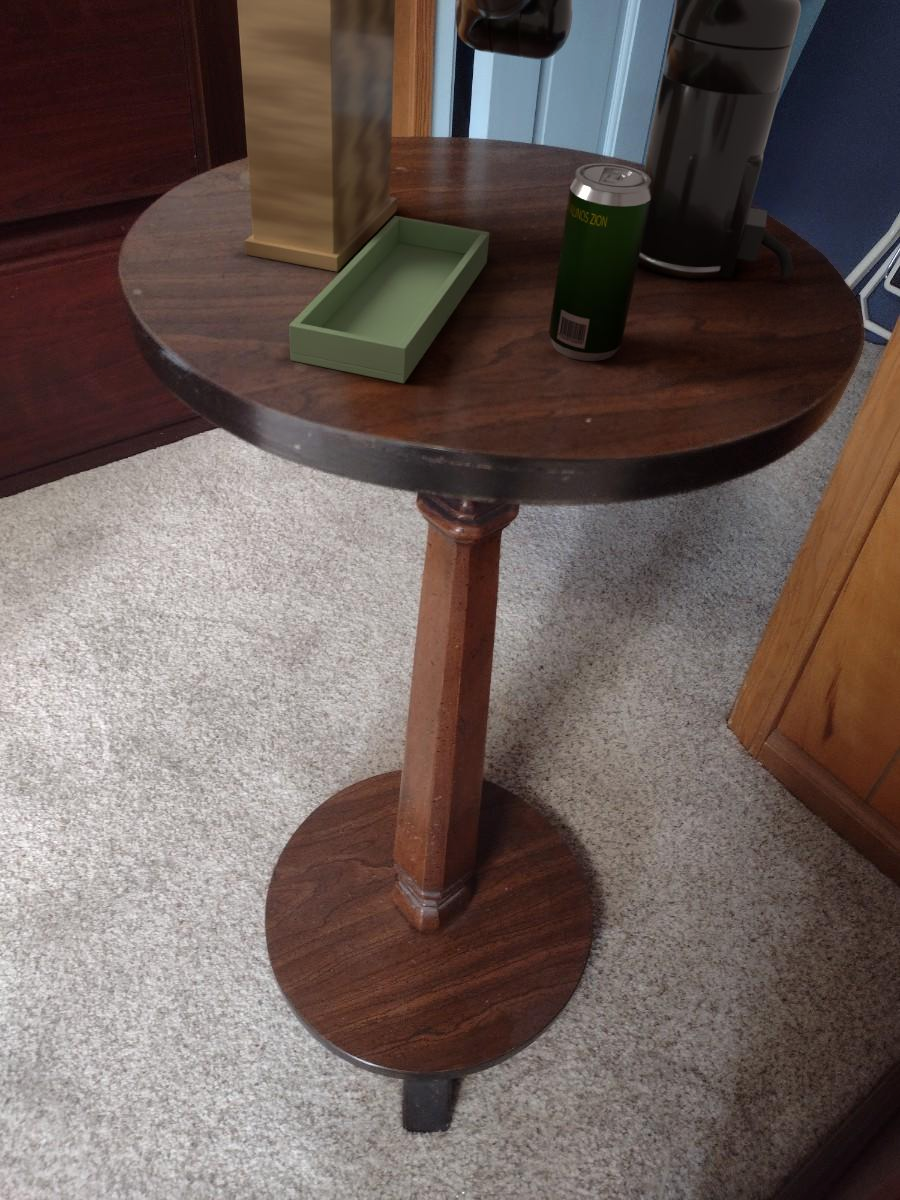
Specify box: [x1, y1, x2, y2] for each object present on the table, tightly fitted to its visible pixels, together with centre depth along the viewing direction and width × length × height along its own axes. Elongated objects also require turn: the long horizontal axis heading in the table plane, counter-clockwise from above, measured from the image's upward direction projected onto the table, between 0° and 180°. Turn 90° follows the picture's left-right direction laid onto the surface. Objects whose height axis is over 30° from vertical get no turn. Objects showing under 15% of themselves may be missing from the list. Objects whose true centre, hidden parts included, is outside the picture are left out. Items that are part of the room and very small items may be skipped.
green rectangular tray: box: [288, 215, 490, 384], centre depth 73 cm, size 22×8×3 cm, turn 164°
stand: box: [236, 0, 398, 273], centre depth 74 cm, size 15×8×30 cm, turn 164°
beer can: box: [548, 162, 651, 362], centre depth 67 cm, size 5×5×12 cm
